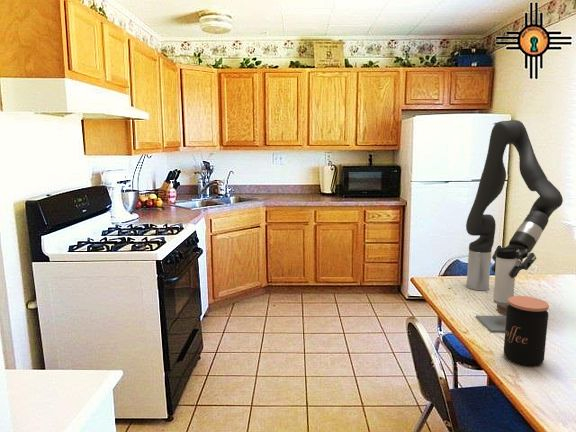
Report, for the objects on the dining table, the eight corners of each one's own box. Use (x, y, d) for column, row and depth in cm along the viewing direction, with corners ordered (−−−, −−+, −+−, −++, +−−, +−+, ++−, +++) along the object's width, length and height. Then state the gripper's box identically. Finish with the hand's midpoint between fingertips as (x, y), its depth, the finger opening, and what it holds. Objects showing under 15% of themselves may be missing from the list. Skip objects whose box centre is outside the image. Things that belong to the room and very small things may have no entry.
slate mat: (475, 317, 160) (475, 315, 160) (511, 317, 160) (511, 315, 159) (490, 332, 147) (491, 330, 147) (529, 332, 147) (529, 330, 147)
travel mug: (516, 306, 148) (520, 250, 145) (495, 305, 150) (499, 249, 146) (511, 300, 154) (514, 246, 151) (491, 299, 156) (494, 245, 152)
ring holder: (491, 306, 171) (492, 299, 170) (520, 306, 170) (521, 299, 170) (505, 317, 159) (506, 310, 159) (536, 318, 159) (537, 310, 159)
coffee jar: (496, 351, 134) (500, 296, 131) (528, 349, 134) (533, 295, 132) (516, 369, 123) (522, 309, 120) (552, 367, 124) (558, 307, 121)
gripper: (503, 227, 158) (479, 263, 154) (541, 234, 145) (517, 272, 142) (511, 240, 161) (488, 275, 157) (550, 247, 149) (526, 285, 145)
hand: (502, 273), depth 150 cm, fingers closed on travel mug, 6 cm apart
